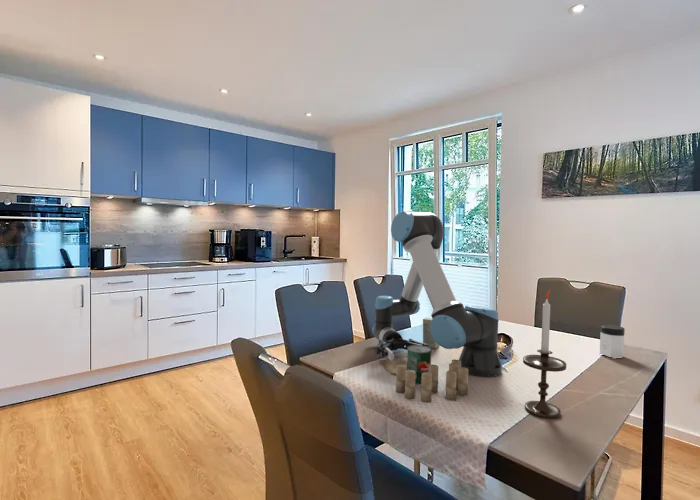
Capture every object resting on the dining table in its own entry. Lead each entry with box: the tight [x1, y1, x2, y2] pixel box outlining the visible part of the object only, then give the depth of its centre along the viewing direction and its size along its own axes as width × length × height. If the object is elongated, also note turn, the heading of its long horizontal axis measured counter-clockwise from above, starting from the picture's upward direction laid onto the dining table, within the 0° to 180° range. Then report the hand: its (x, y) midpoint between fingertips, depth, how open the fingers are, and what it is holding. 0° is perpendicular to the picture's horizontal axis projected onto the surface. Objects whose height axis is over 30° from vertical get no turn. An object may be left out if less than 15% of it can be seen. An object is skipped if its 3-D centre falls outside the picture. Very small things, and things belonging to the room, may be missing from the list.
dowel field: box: [395, 359, 469, 404], centre depth 120 cm, size 22×15×8 cm
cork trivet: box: [378, 357, 407, 376], centre depth 143 cm, size 14×14×1 cm
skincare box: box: [422, 317, 440, 349], centre depth 168 cm, size 6×4×12 cm
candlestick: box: [522, 289, 567, 420], centre depth 108 cm, size 11×11×35 cm
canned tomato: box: [406, 345, 432, 386], centre depth 130 cm, size 8×8×11 cm
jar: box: [599, 324, 625, 358], centre depth 159 cm, size 9×8×12 cm
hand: (410, 355), depth 136 cm, fingers open, 13 cm apart
